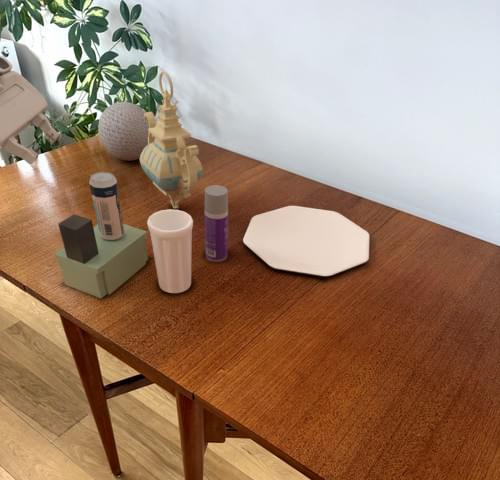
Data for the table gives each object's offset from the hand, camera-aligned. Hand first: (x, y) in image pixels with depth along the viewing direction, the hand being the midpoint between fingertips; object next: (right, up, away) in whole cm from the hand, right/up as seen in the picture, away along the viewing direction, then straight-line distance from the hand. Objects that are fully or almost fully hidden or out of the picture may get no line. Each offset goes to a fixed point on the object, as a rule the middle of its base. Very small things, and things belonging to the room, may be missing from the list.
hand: (46, 149), depth 81 cm
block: (+5, -18, +4) cm, 19 cm away
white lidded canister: (+9, -13, +10) cm, 19 cm away
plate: (+49, -12, +24) cm, 55 cm away
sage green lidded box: (+7, -20, +12) cm, 24 cm away
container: (+29, -16, +18) cm, 37 cm away
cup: (+21, -23, +10) cm, 33 cm away
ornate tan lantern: (+17, -2, +33) cm, 37 cm away
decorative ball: (+1, +18, +53) cm, 56 cm away
